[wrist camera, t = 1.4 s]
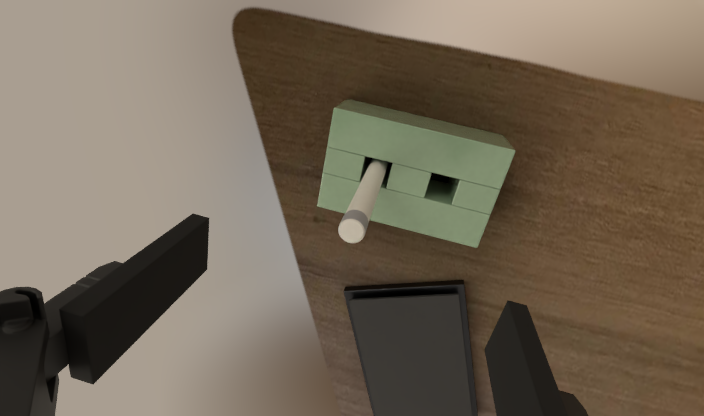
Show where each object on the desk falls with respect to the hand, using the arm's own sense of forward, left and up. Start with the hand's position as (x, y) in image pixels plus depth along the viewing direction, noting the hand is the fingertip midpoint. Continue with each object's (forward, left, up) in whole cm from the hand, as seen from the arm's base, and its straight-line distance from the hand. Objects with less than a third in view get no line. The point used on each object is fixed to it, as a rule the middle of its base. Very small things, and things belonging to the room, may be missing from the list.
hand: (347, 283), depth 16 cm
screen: (+18, -12, -18) cm, 28 cm away
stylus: (-1, 0, -19) cm, 19 cm away
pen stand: (+1, +1, -19) cm, 19 cm away
